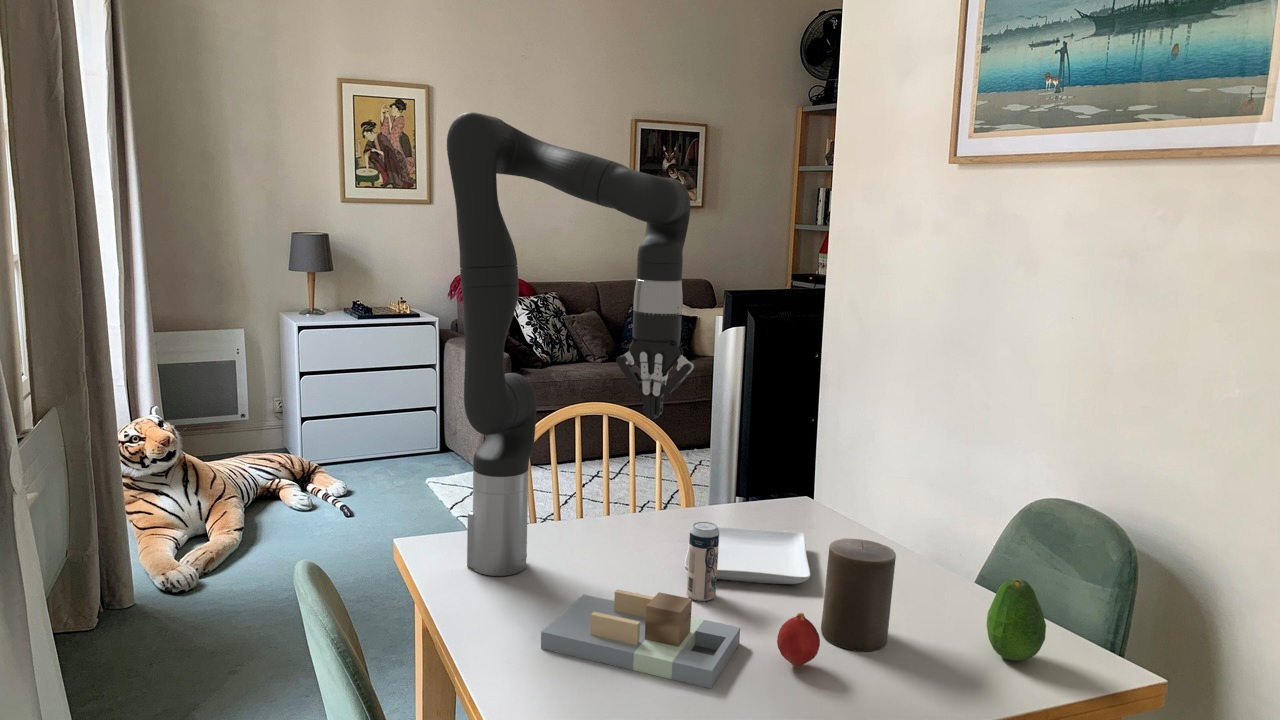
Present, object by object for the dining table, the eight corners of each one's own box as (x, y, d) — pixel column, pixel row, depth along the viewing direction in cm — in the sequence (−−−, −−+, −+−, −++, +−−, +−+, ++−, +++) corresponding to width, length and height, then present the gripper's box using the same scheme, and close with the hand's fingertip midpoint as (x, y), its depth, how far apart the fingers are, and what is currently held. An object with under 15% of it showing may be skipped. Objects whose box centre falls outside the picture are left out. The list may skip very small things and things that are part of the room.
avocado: (971, 648, 135) (980, 571, 133) (1017, 643, 137) (1026, 567, 135) (1007, 675, 128) (1017, 594, 126) (1054, 670, 130) (1065, 589, 128)
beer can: (713, 604, 146) (718, 532, 144) (684, 600, 147) (688, 529, 145) (717, 592, 151) (721, 522, 149) (688, 588, 152) (692, 519, 150)
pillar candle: (849, 657, 131) (860, 556, 128) (807, 627, 139) (816, 533, 137) (901, 645, 135) (912, 548, 133) (857, 617, 144) (866, 526, 141)
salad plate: (682, 584, 154) (683, 565, 154) (690, 540, 175) (691, 522, 175) (810, 595, 152) (811, 576, 152) (803, 549, 173) (804, 531, 172)
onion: (771, 656, 130) (775, 602, 129) (811, 656, 131) (815, 603, 129) (780, 677, 124) (784, 621, 123) (822, 676, 125) (827, 621, 124)
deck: (540, 648, 130) (541, 611, 129) (582, 609, 142) (584, 575, 141) (710, 688, 121) (713, 649, 120) (739, 643, 134) (741, 607, 133)
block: (644, 639, 128) (646, 605, 127) (657, 624, 133) (658, 592, 132) (678, 646, 126) (680, 612, 126) (690, 632, 131) (692, 598, 130)
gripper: (608, 307, 142) (604, 417, 144) (690, 314, 137) (684, 427, 140) (627, 303, 148) (623, 408, 151) (705, 310, 144) (699, 418, 147)
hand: (652, 417), depth 146 cm, fingers closed
